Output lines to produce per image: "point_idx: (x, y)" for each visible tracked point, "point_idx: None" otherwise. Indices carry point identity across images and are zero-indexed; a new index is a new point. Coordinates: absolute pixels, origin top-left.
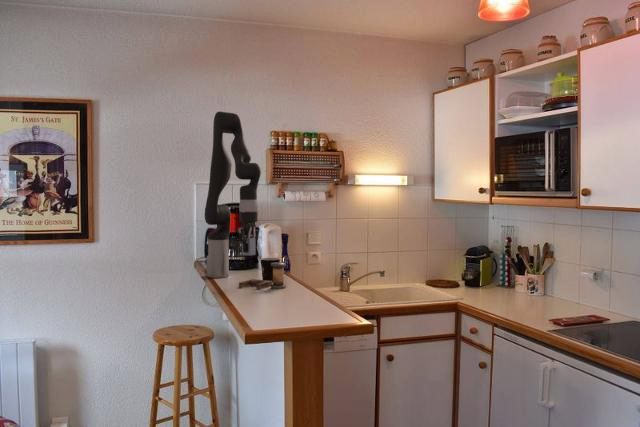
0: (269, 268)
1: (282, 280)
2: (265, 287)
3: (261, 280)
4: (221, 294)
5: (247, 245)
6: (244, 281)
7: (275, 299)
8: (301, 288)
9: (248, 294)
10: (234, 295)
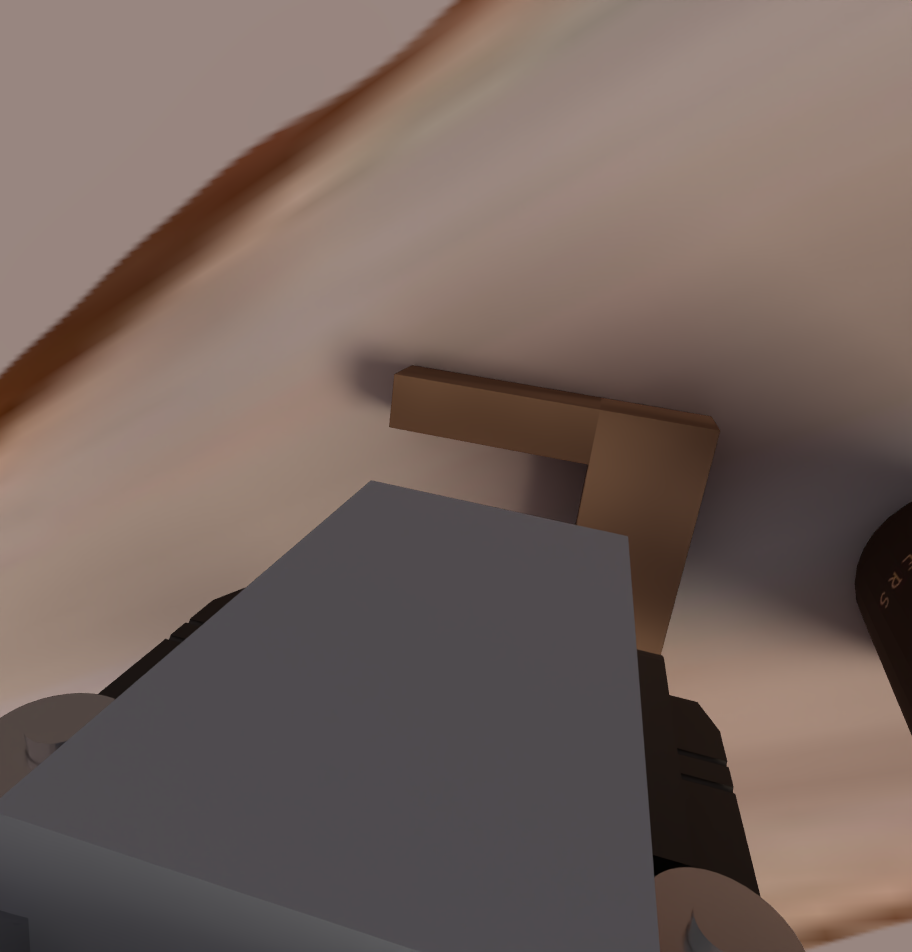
0: (909, 722)
1: None
2: None
3: (641, 584)
4: (24, 363)
5: None
6: (497, 406)
7: None
8: None
9: (134, 591)
10: (46, 495)
